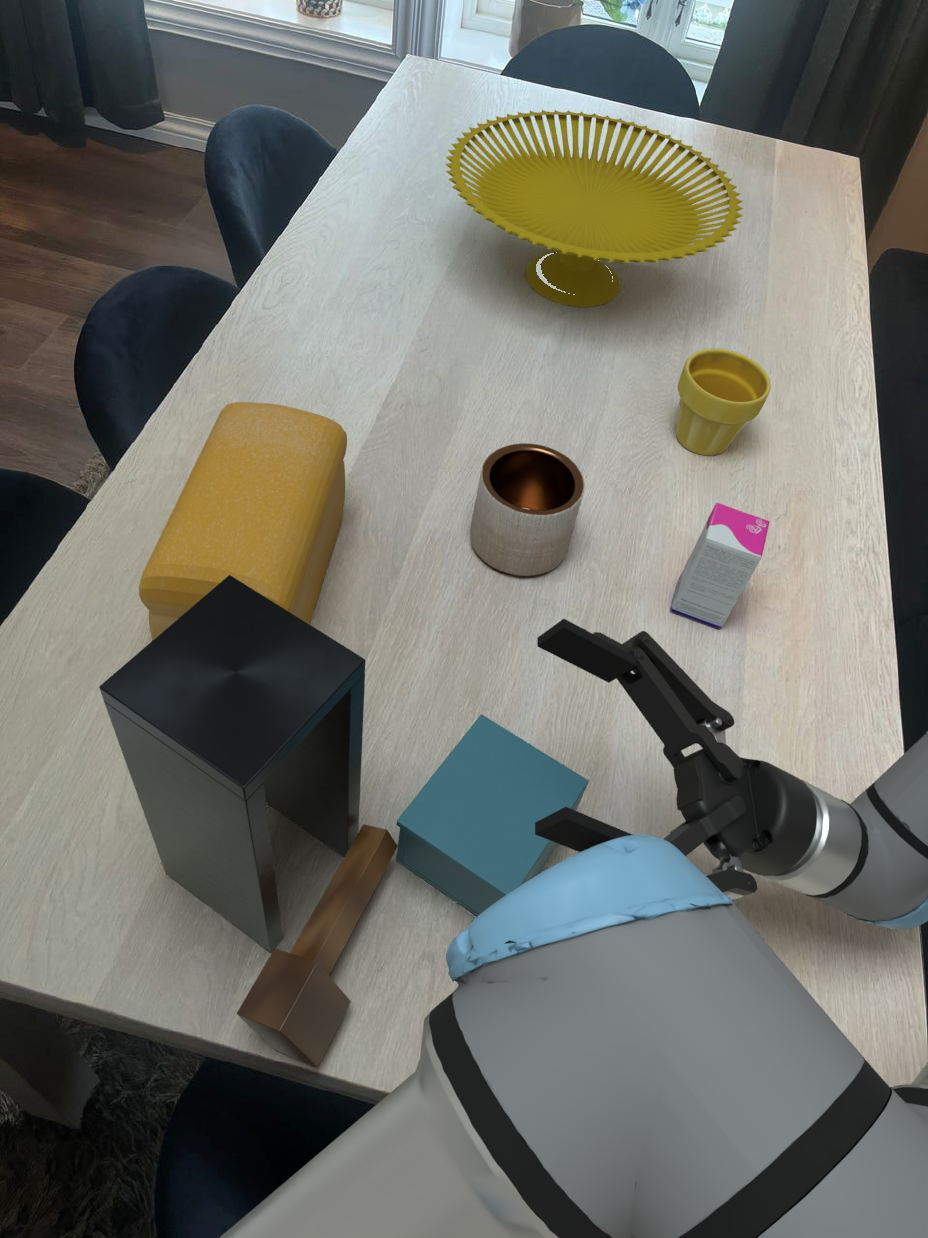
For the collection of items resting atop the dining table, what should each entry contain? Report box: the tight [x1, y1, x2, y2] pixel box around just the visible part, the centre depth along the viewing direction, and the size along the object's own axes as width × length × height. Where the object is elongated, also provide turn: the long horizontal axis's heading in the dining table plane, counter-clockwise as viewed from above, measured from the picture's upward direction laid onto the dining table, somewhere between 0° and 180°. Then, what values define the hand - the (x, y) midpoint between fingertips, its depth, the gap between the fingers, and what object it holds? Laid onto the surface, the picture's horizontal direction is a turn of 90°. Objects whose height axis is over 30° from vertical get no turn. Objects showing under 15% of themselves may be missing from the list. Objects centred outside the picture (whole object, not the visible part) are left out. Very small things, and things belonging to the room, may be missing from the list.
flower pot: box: [675, 347, 772, 456], centre depth 112 cm, size 10×10×10 cm
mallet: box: [236, 823, 398, 1068], centre depth 70 cm, size 17×6×4 cm
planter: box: [469, 442, 585, 577], centre depth 98 cm, size 11×11×10 cm
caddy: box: [395, 785, 588, 917], centre depth 76 cm, size 11×10×8 cm
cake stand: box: [445, 109, 744, 308], centre depth 129 cm, size 40×40×15 cm
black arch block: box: [98, 575, 366, 954], centre depth 66 cm, size 11×11×27 cm
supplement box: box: [669, 502, 770, 630], centre depth 94 cm, size 6×6×12 cm
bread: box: [138, 401, 348, 642], centre depth 88 cm, size 24×13×15 cm, turn 172°
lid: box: [395, 713, 590, 897], centre depth 73 cm, size 12×10×1 cm
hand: (549, 719), depth 57 cm, fingers open, 13 cm apart
